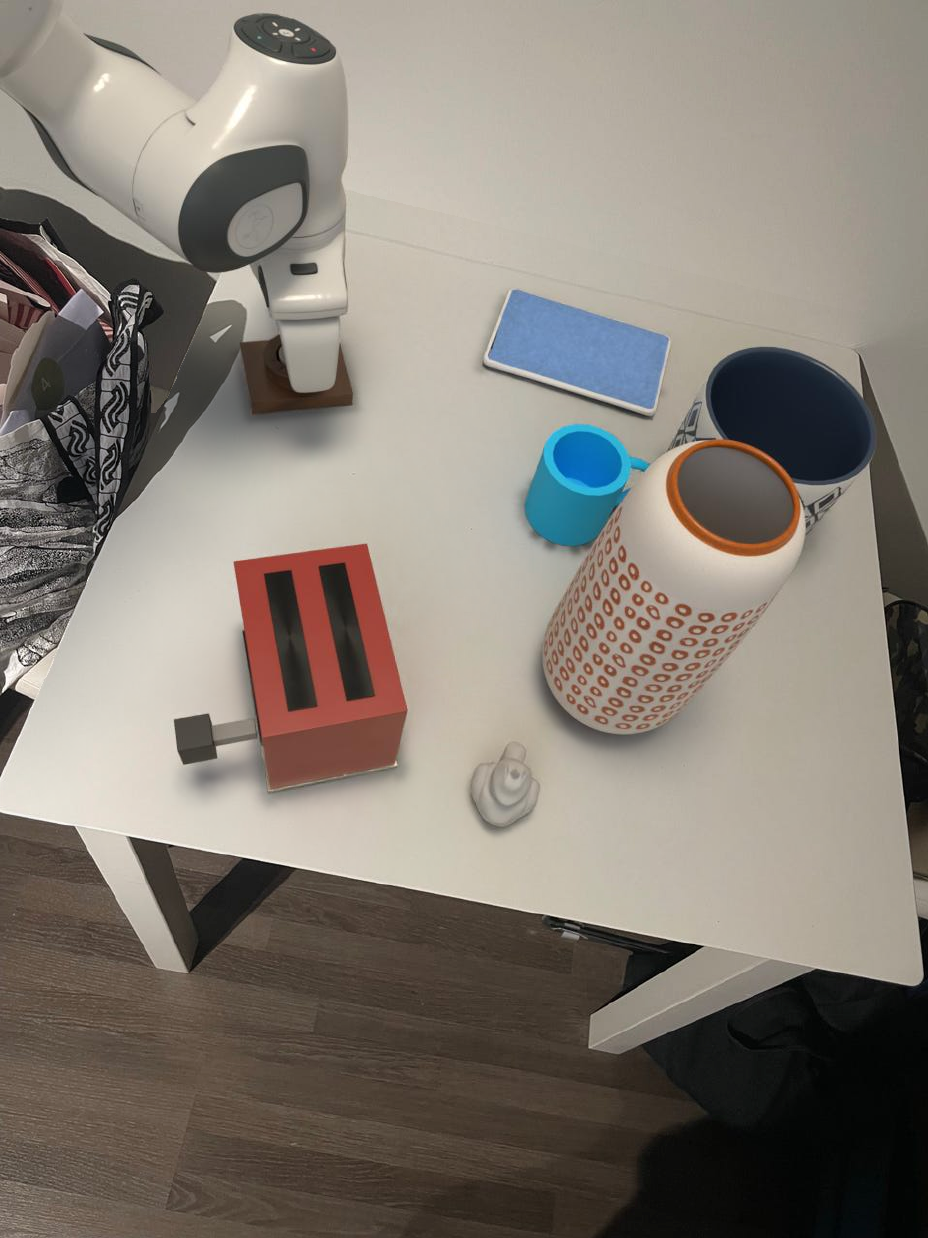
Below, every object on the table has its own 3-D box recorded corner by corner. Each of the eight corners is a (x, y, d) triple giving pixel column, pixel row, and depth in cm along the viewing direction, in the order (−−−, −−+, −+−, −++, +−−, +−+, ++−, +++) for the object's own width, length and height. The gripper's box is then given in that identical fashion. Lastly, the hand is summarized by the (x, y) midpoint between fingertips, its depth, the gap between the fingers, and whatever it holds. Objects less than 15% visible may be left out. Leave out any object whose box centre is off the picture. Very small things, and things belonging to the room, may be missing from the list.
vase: (693, 743, 75) (874, 579, 51) (546, 758, 73) (662, 593, 48) (655, 609, 81) (800, 404, 57) (518, 618, 79) (608, 408, 54)
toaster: (268, 794, 68) (258, 740, 57) (242, 633, 74) (229, 558, 63) (397, 767, 70) (411, 712, 60) (362, 614, 77) (369, 539, 66)
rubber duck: (458, 821, 69) (474, 791, 62) (479, 746, 72) (496, 710, 65) (523, 841, 69) (545, 814, 62) (540, 765, 72) (564, 732, 65)
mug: (536, 550, 83) (556, 499, 75) (515, 481, 86) (533, 427, 79) (651, 537, 85) (681, 487, 78) (626, 471, 89) (653, 417, 82)
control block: (252, 414, 85) (249, 389, 82) (240, 354, 89) (238, 328, 86) (352, 404, 88) (353, 380, 85) (337, 346, 91) (338, 321, 88)
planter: (662, 427, 92) (716, 324, 80) (804, 473, 92) (880, 377, 80) (637, 544, 85) (693, 450, 72) (792, 594, 85) (874, 509, 72)
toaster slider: (183, 765, 62) (177, 751, 59) (179, 734, 63) (173, 719, 60) (259, 750, 63) (257, 736, 61) (254, 720, 64) (252, 705, 62)
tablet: (479, 367, 93) (481, 358, 91) (508, 291, 99) (510, 282, 98) (651, 422, 93) (656, 414, 91) (669, 343, 99) (673, 334, 98)
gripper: (237, 152, 76) (248, 279, 88) (273, 320, 68) (280, 435, 80) (308, 151, 78) (310, 275, 90) (352, 314, 69) (347, 428, 81)
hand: (296, 352), depth 85 cm, fingers closed, pressing on button
